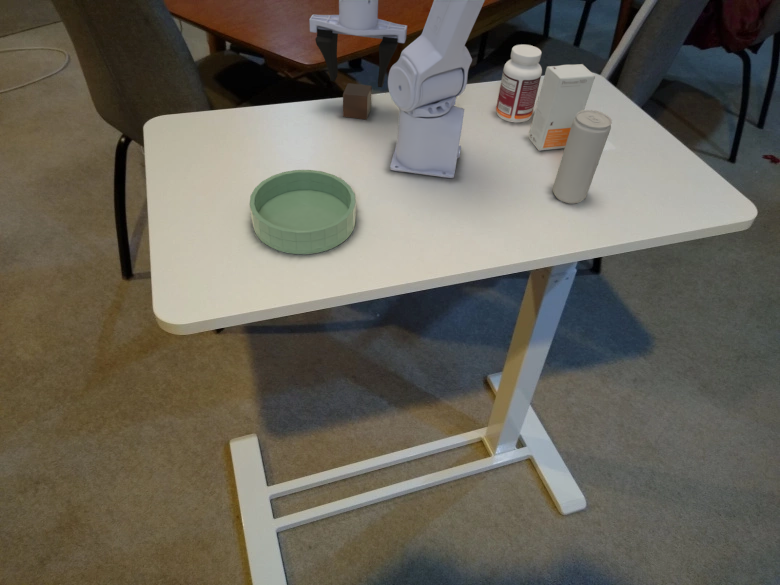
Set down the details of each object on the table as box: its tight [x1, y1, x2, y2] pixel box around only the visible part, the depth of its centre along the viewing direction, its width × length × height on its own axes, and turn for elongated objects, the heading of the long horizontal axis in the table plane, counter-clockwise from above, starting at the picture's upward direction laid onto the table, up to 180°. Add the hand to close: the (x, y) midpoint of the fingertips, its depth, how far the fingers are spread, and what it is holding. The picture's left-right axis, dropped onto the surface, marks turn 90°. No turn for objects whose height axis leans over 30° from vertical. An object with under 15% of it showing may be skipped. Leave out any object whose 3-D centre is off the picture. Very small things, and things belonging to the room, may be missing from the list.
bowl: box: [248, 169, 357, 255], centre depth 73 cm, size 13×13×4 cm
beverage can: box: [552, 109, 613, 204], centre depth 78 cm, size 5×5×12 cm
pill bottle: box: [495, 44, 543, 123], centre depth 94 cm, size 6×6×11 cm
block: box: [342, 82, 373, 120], centre depth 94 cm, size 4×4×4 cm
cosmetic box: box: [528, 63, 596, 152], centre depth 87 cm, size 6×4×12 cm
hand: (357, 81), depth 92 cm, fingers open, 7 cm apart
